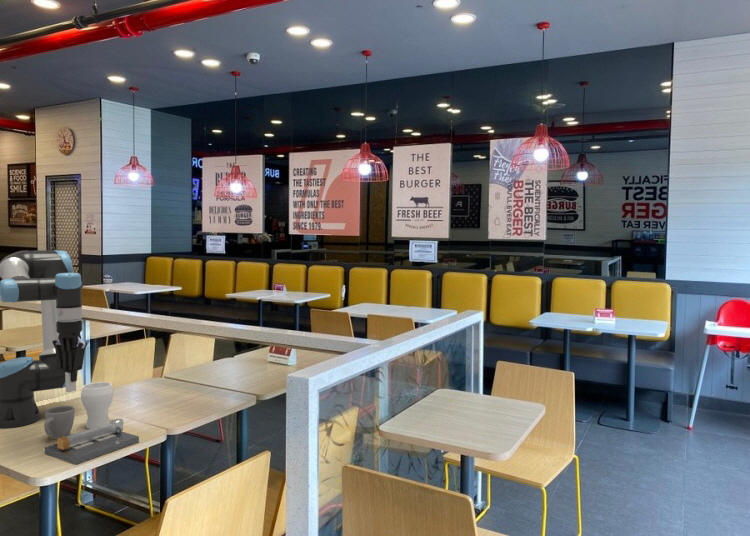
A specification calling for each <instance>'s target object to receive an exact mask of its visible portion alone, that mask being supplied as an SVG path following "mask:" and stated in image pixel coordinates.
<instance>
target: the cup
mask: <svg viewBox="0 0 750 536" xmlns="http://www.w3.org/2000/svg"><path fill="white" fill-rule="evenodd" d="M113 398H114V387H113V384H112V383H111V382H108V381H98V382H91V383H87V384H84V385H83V386H82V388H81V392H80V400H81V403H82V406H83V407H84V410H85V411H86V417H87V419H86V426H85V427H86V429H87V430H89V429H92V428H95V427H98V426H102V425H105V424H108V423H110V418H109V411H110V406H111V404H112V403H113Z"/></svg>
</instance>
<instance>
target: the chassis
mask: <svg viewBox="0 0 750 536" xmlns="http://www.w3.org/2000/svg"><path fill="white" fill-rule="evenodd" d="M138 443H140V436H139V435H135V434H133V433H129V432H125V431H121V432H115V433H112V434H109V435H106V436H103V437H100V438H97V439H94V440H91V441H88V442H85V443H82V444H79V445H76V446H73V447H70V448H68V449H65V450H62V449H59V448H57V443H53V444H52V445H48V446H45V447H44V454H45V455H48V456H51V457H53V458H56V459H59V460H61V461H64V462H68V463H72V464H73V465H79V464H81V463H85V462H87V461H90V460H93V459H96V458H98V457H97V456H99V457H101V456H100V455H102V456H104V455H103V454H105V455H107V454H110V453H112V451H113V452H115V450H116V451H118V449H119V450H121V449H124V448H127V447H129V446H132V445H135V444H138ZM109 452H110V453H109ZM106 453H107V454H106ZM95 457H96V458H95ZM92 458H93V459H92Z"/></svg>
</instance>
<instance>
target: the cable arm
mask: <svg viewBox="0 0 750 536" xmlns="http://www.w3.org/2000/svg"><path fill="white" fill-rule="evenodd" d="M123 430H124V419H123V418H114V419H112V420H111V422H109V423H108V424H105V425H102V426H98V427H95V428H92V429H86V430H83V431H79V432H75V433H73V434H69V436H66V437H64V436H63V437H59V438H57V439H56V442H57V443H56V444H57V448H59V449H62V450H65V449H68V448H70V447H73V446H76V445H79V444H82V443H85V442H88V441H91V440H94V439H97V438H100V437H103V436H106V435H109V434H112V433H115V432H121V431H122V432H124V431H123Z"/></svg>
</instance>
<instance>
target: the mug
mask: <svg viewBox="0 0 750 536" xmlns="http://www.w3.org/2000/svg"><path fill="white" fill-rule="evenodd" d="M44 418H45V421H44V426H43V429H44V432H45V435H46V436H50V437H51V440H57V438H59V437H63V436H64V437H66V436H69V435H71V430H72V429H73V427H74V426H73V425H74V422H75V407H74V406H72V405H59V406H58V405H57V406H52V407H49V408H47V409H46V410H45V412H44Z"/></svg>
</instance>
